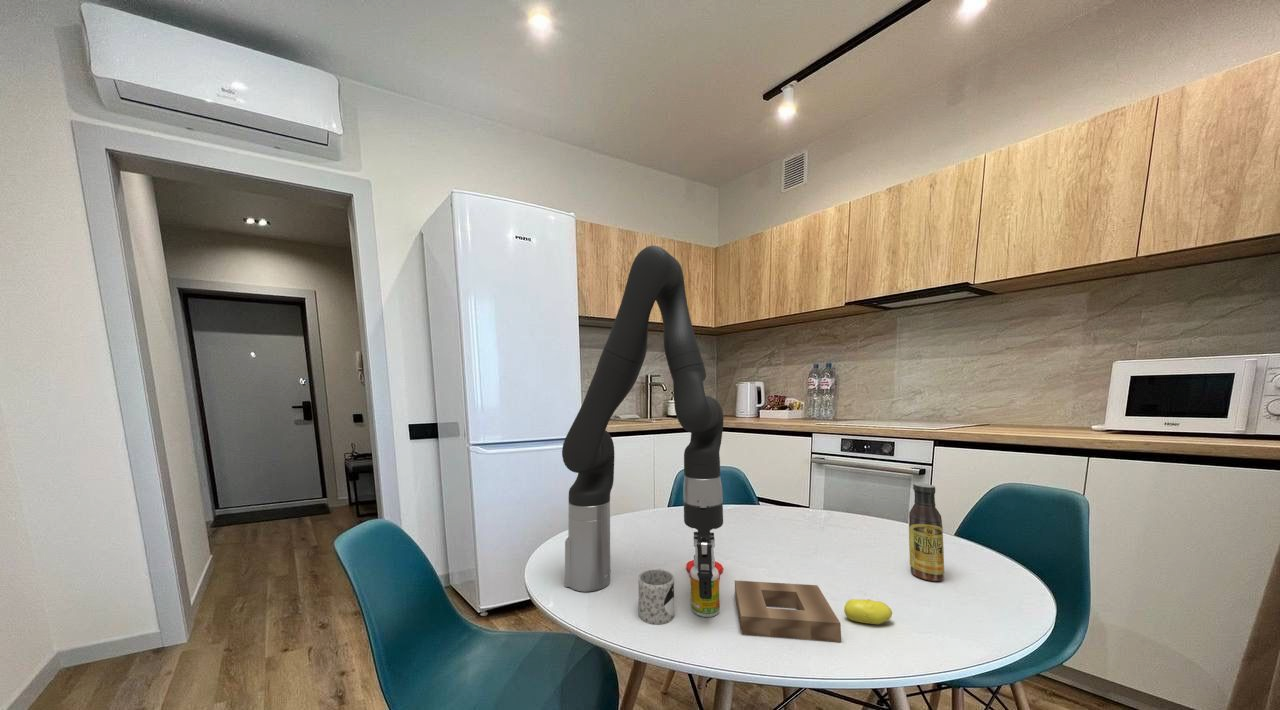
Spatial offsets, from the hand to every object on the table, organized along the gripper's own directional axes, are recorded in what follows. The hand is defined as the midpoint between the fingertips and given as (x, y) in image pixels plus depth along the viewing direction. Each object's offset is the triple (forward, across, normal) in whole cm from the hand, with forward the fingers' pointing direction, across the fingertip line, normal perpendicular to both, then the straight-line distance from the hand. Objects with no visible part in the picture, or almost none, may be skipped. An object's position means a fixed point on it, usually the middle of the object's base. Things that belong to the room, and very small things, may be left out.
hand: (705, 586), depth 76 cm
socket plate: (+4, 0, +14) cm, 15 cm away
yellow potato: (+5, 0, +29) cm, 29 cm away
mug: (+4, +1, -9) cm, 10 cm away
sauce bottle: (+5, -20, +49) cm, 53 cm away
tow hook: (+4, -17, 0) cm, 18 cm away
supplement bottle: (+4, 0, 0) cm, 5 cm away
